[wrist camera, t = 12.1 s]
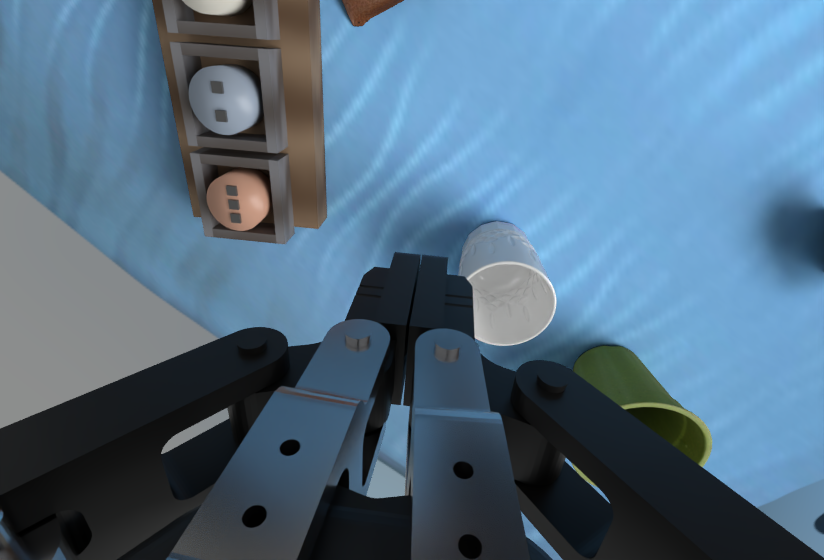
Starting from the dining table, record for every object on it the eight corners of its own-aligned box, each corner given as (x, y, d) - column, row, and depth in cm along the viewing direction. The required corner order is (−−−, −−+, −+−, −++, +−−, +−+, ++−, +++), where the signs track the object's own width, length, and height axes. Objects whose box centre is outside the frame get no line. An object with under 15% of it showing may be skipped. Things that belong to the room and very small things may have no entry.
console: (160, -82, 33) (109, -103, 28) (317, -73, 32) (291, -92, 27) (210, 212, 44) (180, 233, 39) (327, 223, 44) (310, 246, 39)
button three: (219, 163, 38) (200, 173, 35) (273, 168, 38) (258, 179, 35) (227, 215, 40) (210, 229, 38) (278, 220, 40) (264, 234, 37)
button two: (204, 61, 34) (181, 63, 31) (264, 66, 34) (246, 68, 31) (214, 125, 37) (193, 132, 34) (269, 130, 36) (253, 138, 33)
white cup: (449, 279, 45) (446, 337, 37) (465, 208, 41) (465, 253, 33) (524, 292, 45) (539, 353, 36) (547, 222, 41) (570, 271, 33)
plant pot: (582, 311, 46) (615, 386, 36) (684, 347, 46) (743, 430, 37) (530, 389, 51) (547, 472, 41) (622, 420, 52) (659, 508, 42)
